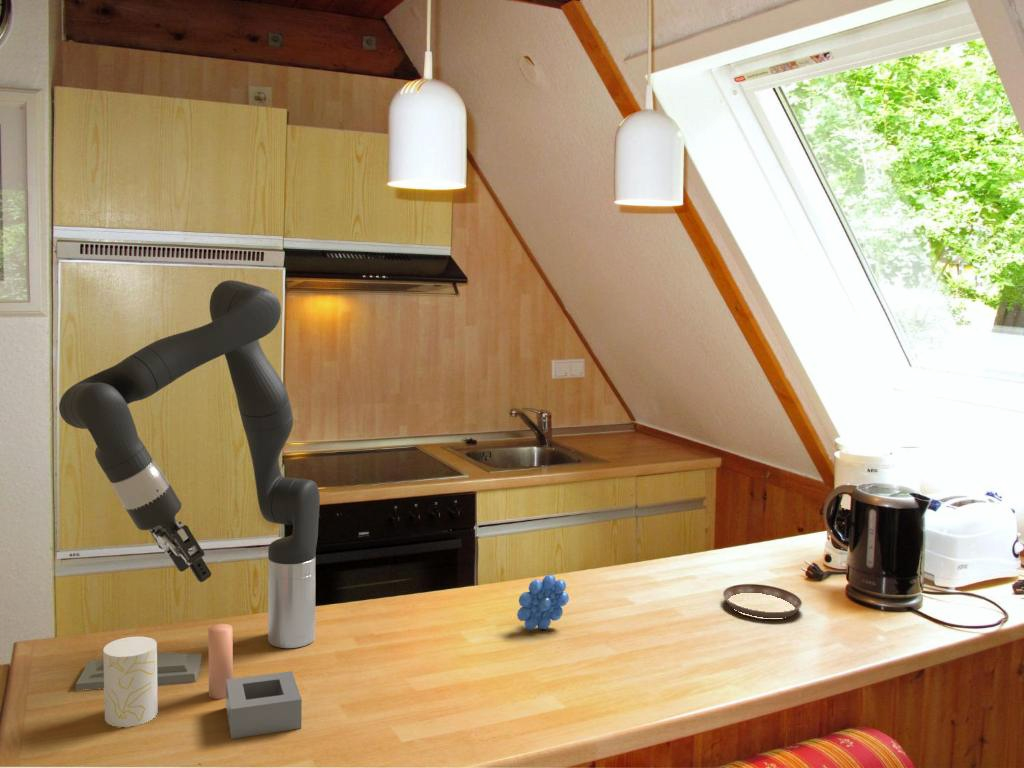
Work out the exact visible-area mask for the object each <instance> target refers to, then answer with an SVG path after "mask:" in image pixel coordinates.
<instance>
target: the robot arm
mask: <svg viewBox="0 0 1024 768" xmlns="http://www.w3.org/2000/svg"><path fill="white" fill-rule="evenodd" d="M209 313H210V314H209V315H210V319H211V322H209V323H207V324H204V325H202V326H199V327H196V328H193V329H190V330H186V331H183V332H179V333H175V334H172V335H168V336H166V337H164V338H160V339H157V340H155V341H153V342H151V343H149V344H148V345H146V346H144V347H142V348H140V349H139V350H137V351H136V352H133V354H130V355H129V356H127V357H126V358H124V359H123V360H122V361H119V362H118V363H116V364H115V365H113V366H111V367H108V368H106V369H104V370H101V371H99V372H97V373H94V374H93V375H90V376H88V377H87V378H84V379H82V380H80V381H78V382H76V383H75V384H74V385H72V386H71V387H69V388H68V389H66V391H65V392H64V393H63V394H62V396H61V398H60V400H59V405H58V410H59V414H60V417H61V418H62V420H63V421H64V422H65V423H67V424H68V425H69V426H71V427H73V428H76V429H81V430H82V429H83V430H87V431H88V432H89V433H90V435H91V437H92V439H93V441H94V443H95V445H96V448H95V450H94V451H95V452H94V456H95V459H96V461H97V463H98V465H99V466H100V468H101V470H102V471H103V473H104V474H105V476H106V477H107V479H108V481H109V482H110V484H111V486H112V487H113V490H114V492H115V494H116V496H117V498H118V500H119V501H120V503H121V504H122V506H123V509H125V511H126V512H127V514H128V515H129V517H130V519H131V520H132V522H133V523H134V525H135V526H136V528H137V529H138V530H139V531H149V532H150V534H151V536H152V538H153V539H154V541H155V542H156V544H157V546H158V548H159V549H160V550H163V552H164V553H165V554H166V555H168V556H169V558H170V559H171V561H172V563H173V564H174V566H175V567H176V569H177V570H178V571H179V572H182V573H183V572H184V571H186V570H187V569H190V570H191V572H192V574H194V576H195V578H196V580H197V581H198V582H200V583H203V582H205V581H206V580H208V579H209V578H211V576H212V572H211V570H210V569H209V567H208V565H207V563H206V562H205V560H204V559H203V557H204V556H206V554H205V551H204V550H203V549H202V547H201V546H200V544H199V543H198V540H197V539H196V538H195V536H194V535H193V533H192V531H190V527H189V526H188V525H186V524H183V522H182V521H180V520H179V521H178V520H177V519H176V518H175V517H176V516H177V514H178V513H179V512H180V511H181V508H182V501H181V500H180V499H179V497H178V495H177V494H176V492H175V490H174V489H173V486H172V485H171V484H170V482H169V480H168V479H167V477H166V476H165V474H164V472H163V471H162V469H161V468H160V467H159V466H158V464H157V463H156V462H155V460H154V459H153V458H152V455H151V454H150V453H149V451H148V449H147V447H146V446H145V445H144V442H143V441H142V440H141V438H140V437H139V434H138V430H137V427H136V425H135V422H134V418H133V416H132V413H131V410H130V408H129V406H128V405H129V404H131V403H134V402H138V401H142V400H145V399H147V398H149V397H152V396H153V395H154V394H156V393H157V392H159V391H160V390H162V389H164V388H165V387H167V386H168V385H170V384H171V383H173V382H175V381H176V380H178V379H179V378H181V377H183V376H184V375H186V374H187V373H189V372H191V371H193V370H195V369H197V368H199V367H201V366H202V365H204V364H206V363H208V362H211V361H213V360H215V359H217V358H219V357H221V356H223V355H224V357H225V360H226V363H227V366H228V370H229V374H230V379H231V382H232V385H233V389H234V392H235V397H236V400H237V401H236V402H237V405H238V410H239V416H240V418H241V419H240V420H241V423H242V427H243V429H244V433H245V437H246V440H247V444H248V449H249V453H250V457H251V458H250V459H251V461H252V469H253V473H254V474H253V475H254V480H255V488H256V495H257V496H256V497H257V502H258V506H259V507H258V508H259V510H260V513H261V515H262V518H264V519H265V521H267V522H269V523H271V524H272V523H273V524H279V525H288V526H292V533H291V535H289V536H285V537H284V536H283V537H281V538H278V539H276V540H274V541H272V542H271V543H270V544H269V545H268V549H267V559H268V560H267V561H268V563H267V564H268V566H267V568H268V569H267V570H268V575H267V576H268V577H267V578H268V579H267V581H268V585H267V586H268V590H267V591H268V594H267V595H268V597H267V598H268V600H267V604H268V607H267V610H268V616H267V617H268V619H267V620H268V621H267V625H268V627H267V629H268V630H267V632H268V633H267V641H268V644H270V645H272V646H273V647H276V648H280V649H296V648H302V647H305V646H307V645H309V644H312V643H313V642H314V641H315V638H316V566H317V565H316V560H317V559H316V557H317V556H316V554H317V553H316V551H317V544H318V538H319V537H318V536H319V520H320V519H319V516H320V503H321V501H320V500H321V499H320V496H321V495H320V490H319V486H318V485H317V483H316V482H315V481H313V480H311V479H307V478H306V479H305V478H296V477H285V476H283V474H282V473H281V469H280V461H279V459H280V455H281V452H282V450H283V448H284V447H285V445H286V443H287V441H288V439H289V437H290V434H291V432H292V429H293V425H294V417H293V411H292V406H291V402H290V397H289V394H288V390H287V389H286V386H285V384H284V382H283V380H282V378H281V377H280V376H279V374H278V372H277V371H276V369H275V368H274V366H273V365H272V363H270V360H269V359H268V358H267V356H266V355H265V353H264V351H263V348H262V346H261V344H260V340H261V339H262V338H264V337H266V336H268V335H269V334H271V333H272V332H273V330H275V328H276V327H277V326H278V324H279V322H280V319H281V315H282V314H281V313H282V308H281V303H280V300H279V298H278V297H277V295H276V294H274V292H272V291H270V290H269V289H267V288H265V287H261V286H258V285H255V284H250V283H247V282H245V281H244V282H243V281H239V280H224V281H222V282H220V283H218V284H217V286H216V287H215V288H214V289H213V290H212V292H211V295H210V299H209ZM189 550H192V552H193V553H192V554H190V553H189Z"/></svg>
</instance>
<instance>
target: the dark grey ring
mask: <svg viewBox="0 0 1024 768" xmlns="http://www.w3.org/2000/svg"><path fill="white" fill-rule="evenodd" d="M740 593H762V594H766V595H772V596H775V597H777V598H781V599H783V600H785V601H787V602H789V603H790V604H792V605H793V606H794V607H795V609H794V610H790V611H784V612H765V611H758V610H752V609H748V608H744V607H741V606H738V605H736V604H734V603H732V602H730V601H729V600H728V599H729V598H730V597H731V596H733V595H736V594H740ZM722 596H723V598H724V600H725V601H726V603H727V605H728V604H729V605H728V606H729V607H730V606H731V607H732V608H733V609H735V610H737V611H739V612H742V613H745V614H749V615H752V616H757V617H763V618H785V617H788V618H790V617H792V616H793V615H794V614H796V613H797V612H798V611H799V610H800V609H801V607H802V605H803V600H802V599H801V597H799V596H798V595H796V594H795V593H793V592H791V591H789V590H787V589H783V588H780V587H776V586H773V585H767V584H766V585H765V584H758V583H741V584H740V583H739V584H736V585H731V586H728V587H727V588H725V589H724V590H723V591H722ZM731 607H730V608H731ZM732 608H731V609H732ZM733 609H732V610H733ZM791 615H792V616H791ZM789 616H790V617H789Z"/></svg>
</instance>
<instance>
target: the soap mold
mask: <svg viewBox="0 0 1024 768" xmlns="http://www.w3.org/2000/svg"><path fill="white" fill-rule="evenodd" d="M202 661H203V656H202V653H201V652H200V653H197V652H195V653H181V652H176V651H175V652H174V651H169V652H157V686H166V685H168V684H169V685H178V684H180V685H181V683H182V684H190V683H191V684H192V683H193V682H195V683H197V681H198V677H199V673H200V669H201V666H202ZM165 684H166V685H165ZM99 688H100V690H103V689H102V688H104V658H98V659H97V658H96V659H89V661H88V663H87V665H86V666H85V668H84V670H83V671H82V673H81V674H80V676H79V678H78V680H77V682H76V683H75V691H76V690H83V689H84V690H85V689H99Z"/></svg>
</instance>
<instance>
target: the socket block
mask: <svg viewBox="0 0 1024 768" xmlns="http://www.w3.org/2000/svg"><path fill="white" fill-rule="evenodd" d="M302 703H303V702H302V697H301V694H300V690H299V688H298V685H297V681H296V677H295V676H294V673H293V671H291V670H290V671H283V672H274V673H267V674H259V675H258V674H257V675H253V676H252V675H251V676H244V677H235V678H233V679H226V698H225V709H226V715H227V721H228V726H229V732H230V738H231V740H234V739H240V738H246V737H252V736H253V737H254V736H258V735H266V734H272V733H279V732H285V731H286V732H287V731H291V730H299V729H302V711H303V709H302V707H303V706H302Z"/></svg>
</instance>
